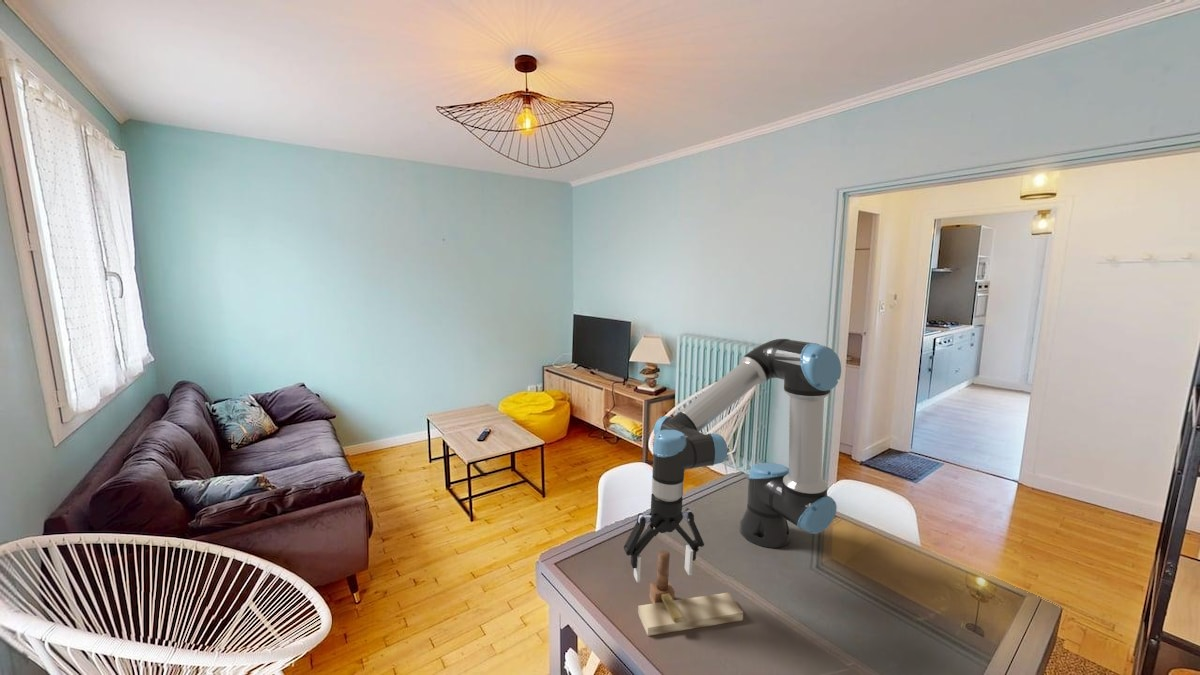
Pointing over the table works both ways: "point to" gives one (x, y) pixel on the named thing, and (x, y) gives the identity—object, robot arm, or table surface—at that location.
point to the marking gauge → (664, 587)
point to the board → (690, 613)
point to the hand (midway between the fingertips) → (662, 575)
